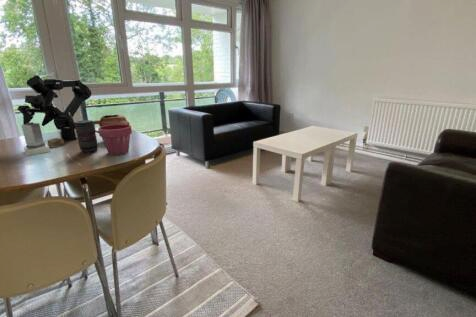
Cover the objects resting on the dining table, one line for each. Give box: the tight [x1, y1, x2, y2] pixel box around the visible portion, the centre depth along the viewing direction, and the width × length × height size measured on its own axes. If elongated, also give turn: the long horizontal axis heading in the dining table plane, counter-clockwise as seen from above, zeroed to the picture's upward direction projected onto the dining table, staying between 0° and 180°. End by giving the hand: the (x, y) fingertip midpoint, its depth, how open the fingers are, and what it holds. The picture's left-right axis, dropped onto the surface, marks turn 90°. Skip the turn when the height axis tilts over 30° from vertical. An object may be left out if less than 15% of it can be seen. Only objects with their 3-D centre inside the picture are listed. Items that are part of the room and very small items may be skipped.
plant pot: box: [97, 124, 133, 156], centre depth 126 cm, size 14×14×13 cm
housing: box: [20, 121, 46, 148], centre depth 126 cm, size 5×5×12 cm
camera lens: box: [74, 119, 99, 154], centre depth 127 cm, size 8×8×15 cm
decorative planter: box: [92, 114, 130, 134], centre depth 147 cm, size 20×12×14 cm, turn 128°
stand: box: [23, 142, 51, 156], centre depth 128 cm, size 9×9×3 cm
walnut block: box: [47, 137, 65, 148], centre depth 138 cm, size 5×5×4 cm
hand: (33, 125), depth 126 cm, fingers open, 9 cm apart
